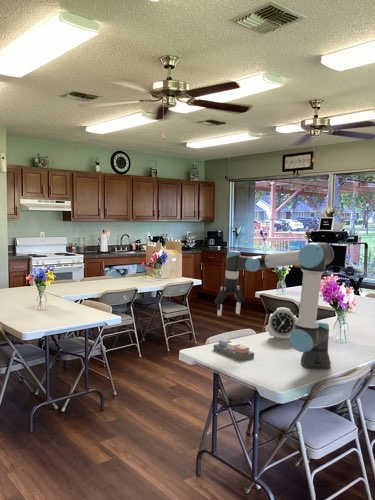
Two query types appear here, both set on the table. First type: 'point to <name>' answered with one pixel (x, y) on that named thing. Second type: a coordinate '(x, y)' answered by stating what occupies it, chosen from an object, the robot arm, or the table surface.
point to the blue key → (224, 342)
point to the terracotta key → (242, 349)
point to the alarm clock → (281, 324)
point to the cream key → (232, 346)
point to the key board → (233, 353)
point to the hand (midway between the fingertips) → (228, 314)
